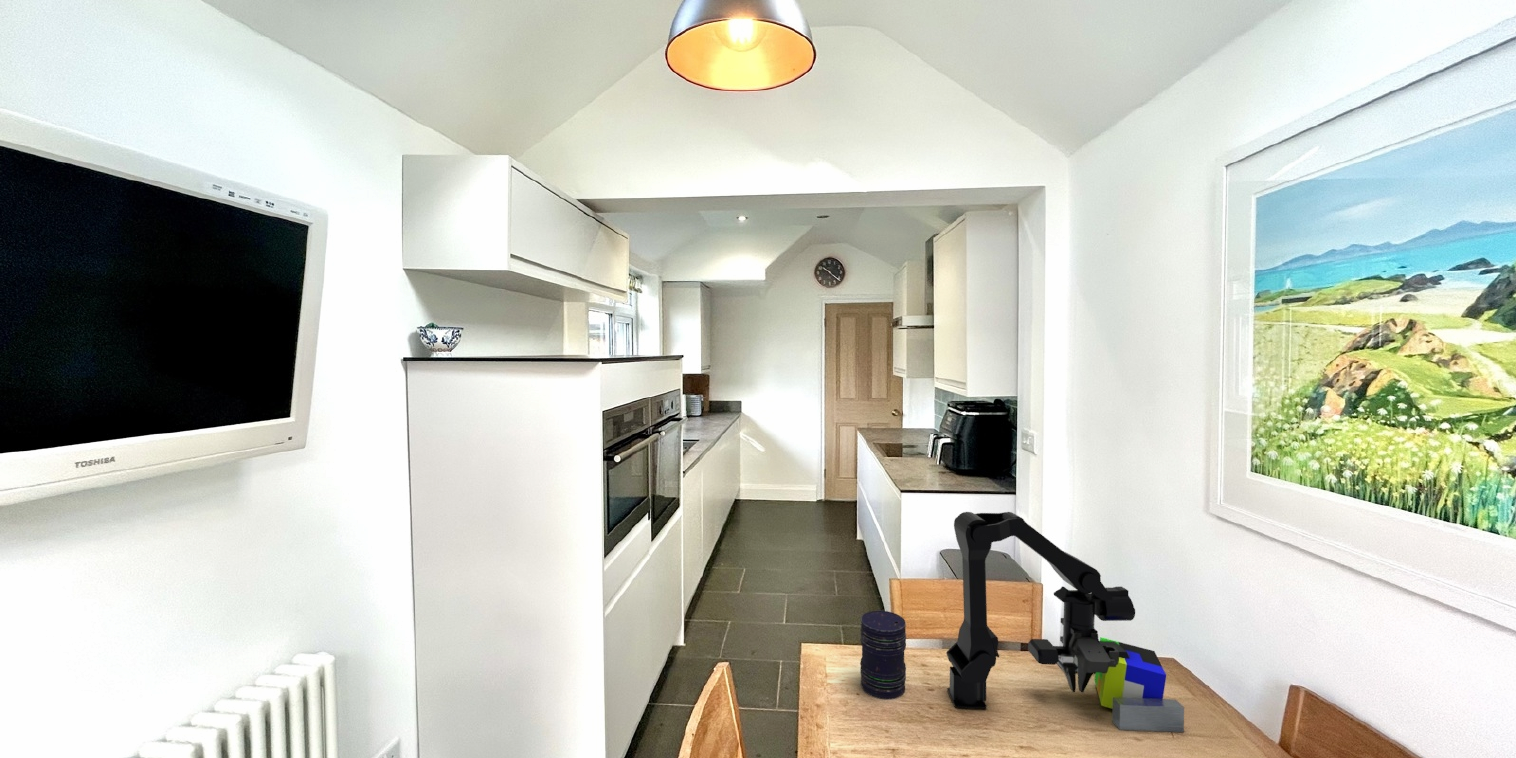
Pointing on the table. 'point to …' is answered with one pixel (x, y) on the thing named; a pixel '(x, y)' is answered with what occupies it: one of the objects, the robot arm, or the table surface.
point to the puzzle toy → (1132, 676)
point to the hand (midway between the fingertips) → (1077, 691)
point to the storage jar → (883, 654)
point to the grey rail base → (1147, 714)
